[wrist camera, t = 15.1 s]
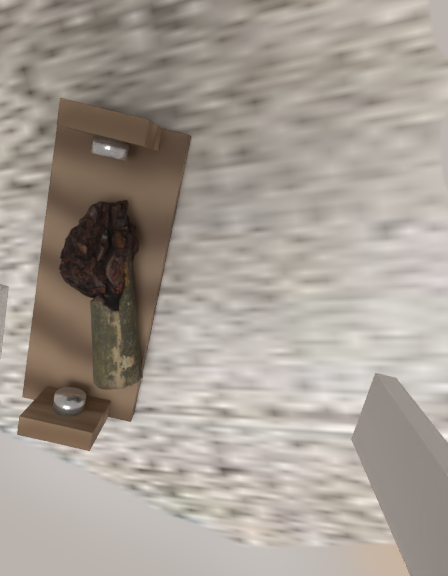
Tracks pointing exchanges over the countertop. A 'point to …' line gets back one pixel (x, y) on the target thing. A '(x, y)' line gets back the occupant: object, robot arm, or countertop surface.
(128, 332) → the lumpy brown club
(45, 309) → the shaft stand
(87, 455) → the countertop surface
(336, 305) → the countertop surface
